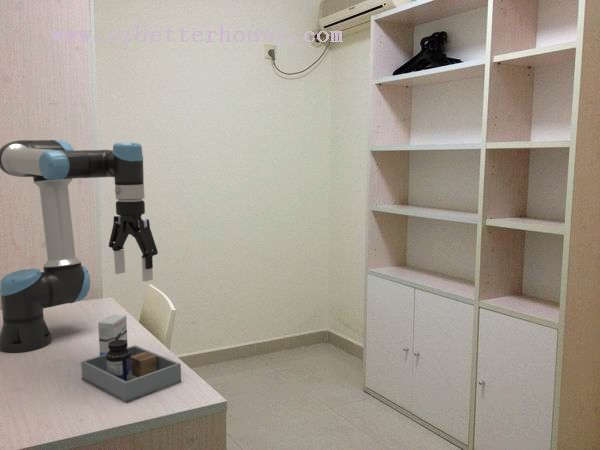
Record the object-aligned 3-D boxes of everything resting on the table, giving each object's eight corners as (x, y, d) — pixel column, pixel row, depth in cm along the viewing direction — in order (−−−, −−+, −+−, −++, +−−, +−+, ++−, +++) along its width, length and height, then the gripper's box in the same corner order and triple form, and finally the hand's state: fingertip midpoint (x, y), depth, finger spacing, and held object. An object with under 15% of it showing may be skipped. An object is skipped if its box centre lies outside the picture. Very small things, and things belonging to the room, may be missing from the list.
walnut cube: (130, 374, 154) (130, 356, 154) (146, 368, 158) (145, 351, 157) (141, 379, 151) (140, 361, 150) (157, 373, 155) (156, 355, 154)
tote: (82, 379, 153) (81, 361, 152) (135, 361, 165) (135, 345, 164) (126, 402, 138) (125, 383, 138) (181, 381, 151) (180, 363, 150)
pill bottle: (123, 375, 153) (121, 336, 152) (136, 381, 149) (134, 341, 148) (103, 383, 149) (100, 343, 147) (116, 389, 145) (113, 348, 143)
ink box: (114, 362, 165) (112, 323, 163) (99, 361, 166) (97, 322, 164) (129, 351, 173) (127, 314, 171) (114, 350, 174) (112, 313, 172)
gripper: (93, 198, 158) (97, 272, 161) (144, 204, 142) (147, 286, 145) (117, 196, 164) (121, 268, 167) (169, 201, 147) (172, 281, 150)
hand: (133, 276), depth 156 cm, fingers open, 13 cm apart
